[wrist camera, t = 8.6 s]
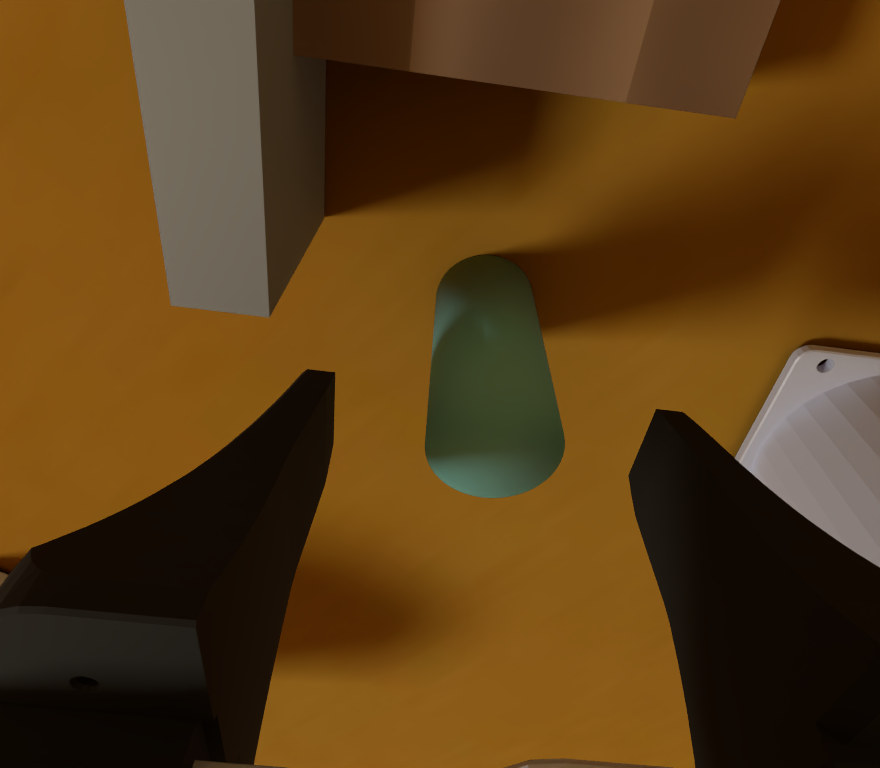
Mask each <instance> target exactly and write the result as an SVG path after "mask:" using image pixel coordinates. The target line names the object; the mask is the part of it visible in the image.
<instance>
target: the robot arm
mask: <svg viewBox="0 0 880 768" xmlns="http://www.w3.org/2000/svg"><path fill="white" fill-rule="evenodd" d="M825 359H828V360H827V361H826V362H825V363H824V364H822V365H820V366H817V365H818V364H819V363H820V362H821V361H823V360H825ZM334 400H335V372H326V371H318V370H309V369H307V370H306V371H304V372H303V373H302V374H301V375H300V376H299V377H298V378H297V379H296V381H295V382H294V383H293V384H292V385H291V386H290V387H289V388H288V389H287V390H286V391H285V392H284V393H283V395H282V396H281V397H280V398H279V399H278V400H277V401H276V402H275V403H274V404H273V405H272V406H271V407H270V408H268V409H267V410H266V411H265V412H264V413H263V414H262V415H261V416H260V417H259V418H258V419H257V420H256V421H255V422H254V423H253V424H252V425H250V426H249V427H248V428H247V429H246V430H245V431H243V432H242V433H241V434H240V435H239V436H237V437H236V438H235V439H234V440H233V441H231V442H230V443H229V444H228V445H227V446H225V447H224V448H223V449H222V450H220V451H219V452H218V453H216V454H215V455H214V456H212V457H211V458H210V459H208V460H207V461H206V462H204V463H203V464H201V465H200V466H198V467H197V468H195V469H194V470H193V471H191V472H190V473H188V474H186V475H185V476H183V477H182V478H180V479H178V480H177V481H175V482H173V483H172V484H170V485H168V486H166V487H165V488H163V489H161V490H160V491H158V492H156V493H154V494H153V495H151V496H149V497H147V498H146V499H144V500H142V501H140V502H138V503H136V504H134V505H132V506H130V507H128V508H126V509H124V510H122V511H120V512H118V513H115V514H113V515H111V516H109V517H107V518H105V519H103V520H100V521H98V522H96V523H94V524H91V525H89V526H87V527H84V528H82V529H79V530H77V531H74V532H72V533H69V534H67V535H64V536H62V537H59V538H57V539H54V540H52V541H49V542H47V543H44V544H41V545H39V546H36V547H33V548H31V549H30V551H29V552H28V553H27V554H26V555H25V556H24V558H23V559H22V560H21V561H20V562H19V563H18V564H17V565H16V567H15V568H14V569H13V570H12V571H11V573H10V574H9V575H8V576H7V578H6V579H5V580H4V582H3V583H2V584H1V586H0V768H285V767H273V766H261V765H254V760H255V755H256V750H257V745H258V740H259V734H260V729H261V724H262V719H263V714H264V710H265V705H266V700H267V695H268V690H269V685H270V681H271V676H272V671H273V666H274V662H275V657H276V653H277V648H278V643H279V639H280V634H281V630H282V625H283V621H284V616H285V612H286V608H287V603H288V599H289V594H290V590H291V586H292V582H293V579H294V575H295V572H296V569H297V565H298V562H299V559H300V557H301V554H302V551H303V548H304V545H305V542H306V539H307V536H308V533H309V530H310V527H311V524H312V521H313V518H314V515H315V512H316V509H317V506H318V503H319V500H320V497H321V494H322V491H323V488H324V485H325V482H326V477H327V473H328V468H329V463H330V458H331V453H332V448H333V440H334ZM629 482H630V488H631V495H632V500H633V506H634V511H635V516H636V519H637V522H638V525H639V529H640V532H641V535H642V538H643V541H644V544H645V547H646V550H647V553H648V556H649V559H650V562H651V565H652V568H653V571H654V574H655V577H656V580H657V583H658V586H659V589H660V592H661V595H662V598H663V601H664V604H665V608H666V612H667V615H668V619H669V622H670V627H671V631H672V636H673V641H674V645H675V650H676V655H677V659H678V664H679V669H680V675H681V680H682V686H683V691H684V696H685V702H686V707H687V714H688V720H689V727H690V733H691V740H692V746H693V753H694V759H695V768H880V353H874V352H866V351H858V350H850V349H842V348H833V347H825V346H817V345H805V346H803V347H800V348H798V349H797V350H795V351H794V352H793V353H792V355H791V356H790V358H789V359H788V361H787V363H786V365H785V367H784V369H783V370H782V372H781V374H780V376H779V378H778V380H777V381H776V383H775V385H774V387H773V389H772V391H771V392H770V394H769V396H768V398H767V400H766V402H765V403H764V405H763V407H762V409H761V411H760V413H759V414H758V416H757V418H756V420H755V422H754V424H753V425H752V427H751V429H750V431H749V433H748V435H747V436H746V438H745V440H744V442H743V444H742V446H741V447H740V449H739V451H738V453H737V455H736V457H735V458H734V457H733V456H732V455H731V454H729V453H728V452H727V451H726V450H725V449H724V448H723V447H722V446H721V445H720V444H719V443H718V442H716V441H715V440H714V439H713V438H712V437H711V436H710V435H709V434H708V433H707V432H706V431H704V430H703V429H702V428H701V427H700V426H699V425H698V424H697V423H695V422H694V421H693V420H692V419H691V418H690V417H688V416H687V415H686V414H685V413H683V412H677V411H668V410H660V409H656V411H655V413H654V416H653V418H652V420H651V423H650V425H649V428H648V430H647V432H646V435H645V437H644V440H643V442H642V444H641V447H640V449H639V452H638V454H637V456H636V459H635V461H634V464H633V466H632V468H631V471H630V473H629ZM505 768H671V767H659V766H647V765H635V764H623V763H611V762H599V761H587V760H575V759H538V760H528V761H524V762H521V763H518V764H515V765H511V766H508V767H505Z"/></svg>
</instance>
